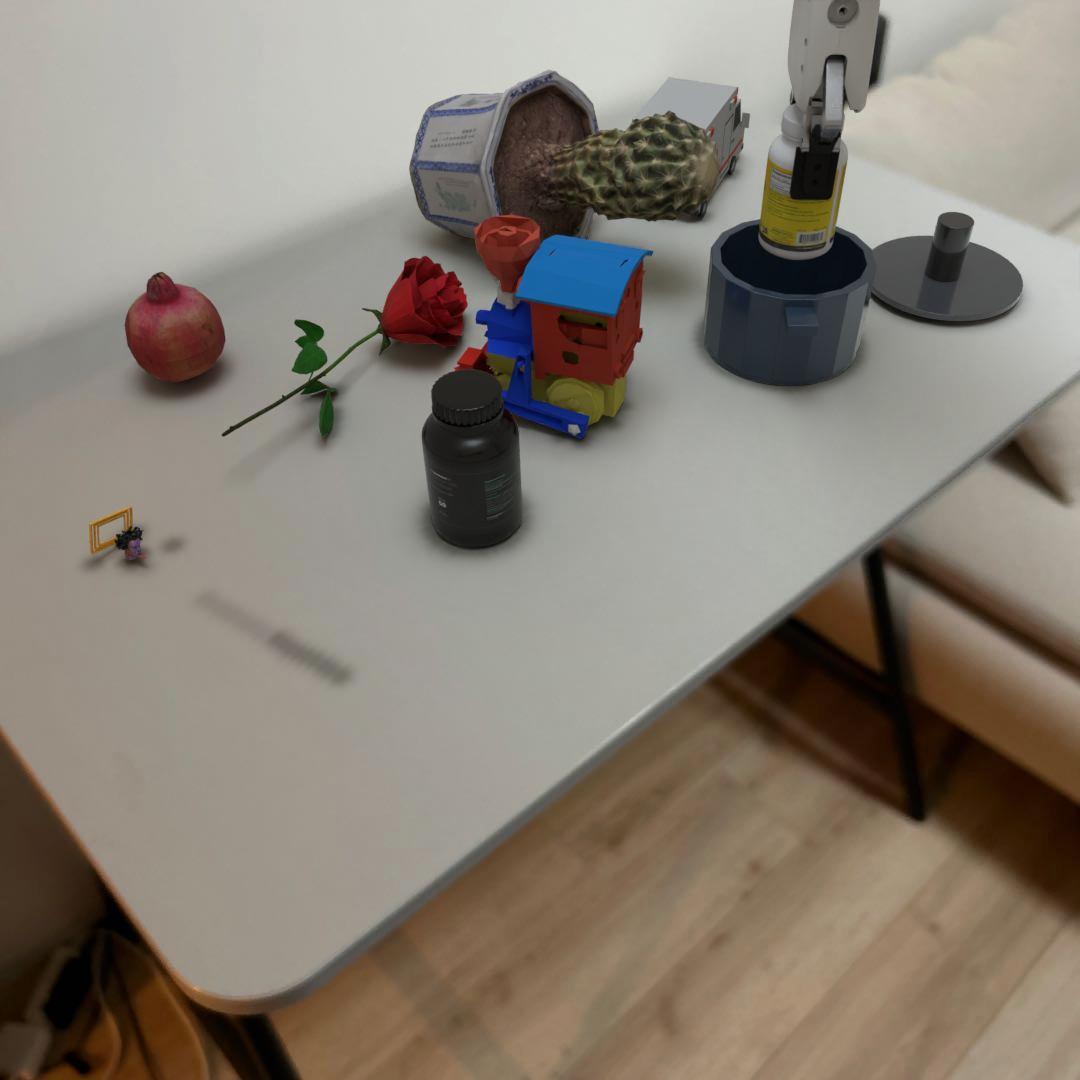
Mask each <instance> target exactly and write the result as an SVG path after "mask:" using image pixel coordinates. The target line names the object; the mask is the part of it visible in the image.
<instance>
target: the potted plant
mask: <svg viewBox="0 0 1080 1080" xmlns="http://www.w3.org/2000/svg"><path fill="white" fill-rule="evenodd" d="M421 117H422V118H421V120H420V123H419V126H418V130H417V132H416V134H415V138H414V139H415V140H414V147H413V150H412V155H411V158H410V162H409V167H408V171H409V177H410V182H411V185H412V187H413V192H414V195H415V200H416V203H417V207H418V209H419V211H420V213H421V214H422V216H423V217H424V218H425V220H426V221H427V222H430V223H431V224H433V225H435V226H437V227H439V228H441V229H443V230H444V231H447V232H448V233H450V234H453V235H455V236H458V237H459V236H460V237H465V238H469V239H473V240H475V233H474V229H475V228H476V227H477V226H478V225H479V224H480V223H481V222H482V221H484V220H486V219H489V218H491V217H494V216H504V215H516V216H520V217H525V218H530V219H532V220H533V221H535V222H536V223H537V224H538V225H539V226H540V245H541V243H542V242H543V240H545V239H547V238H549V237H551V236H553V235H563V236H569V237H575V238H580V239H586V240H587V236H588V234H589V231H590V228H591V225H592V222H593V218H594V214H597V215H598V216H605V217H606V218H605V219H606V220H607V221H613V220H615V221H616V220H624V219H636V220H645V221H647V222H648V223H649V222H656V223H657V221H672V222H674V221H677V220H678V219H679V218H680V216H681V215H683V214H684V213H683V212H684V211H689V212H690V213H695V212H696V211H697V209H698V207H699V206H700V205H701V204H702V203H703V202H705V201H706V200H708V201H709V199H710V198H711V197H712V195H713V193H714V192H713V189H714V188H715V186H716V184H717V183H718V177H719V169H720V162H719V160H718V158H717V146H715V144H716V143H715V142H714V141H709V140H708V138H707V134H706V130H705V129H704V128H700V127H698V126H696V125H694V124H692V123H690V122H688V121H686V120H683V119H680V118H679V117H677V116H676V114H675V113H674V112H671V111H668V112H666V113H665V114H664V115H660V114H656V113H655V114H654V115H653V117H650V116H647V117H644V118H642V119H641V120H639V119H635V120H634V121H633V122H632V121H631V123H630V124H629V126H628V127H627V128H626V129H625V130H622V129H618V128H617V127H615V128H613V129H600V128H599V124H598V119H597V115H596V111H595V106H594V103H593V102H592V100H591V99H590V98H589V97H588V95H586V93H585V92H584V91H583V90H582V89H581V88H580V87H579V86H577V85H576V84H575V83H574V82H573V81H571V80H569V79H568V78H567V77H564V76H562V75H561V74H560V73H558V71H557V70H553V69H546V70H544V71H542V72H540V73H537V74H536V75H533V76H531V77H529V78H527V79H525V80H522V81H518V82H517V83H516V84H514V85H513V86H511V87H509V88H507V89H505V90H504V91H503V92H496V93H464V94H463V93H462V94H456V95H454V96H451V97H448V98H445V99H442V100H440V101H437V102H435V103H433V104H431V105H430V106H428V107H427V109H426V110H425V111H424V113H423V115H422V116H421ZM712 192H713V193H712Z"/></svg>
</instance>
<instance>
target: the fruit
mask: <svg viewBox="0 0 1080 1080" xmlns="http://www.w3.org/2000/svg"><path fill="white" fill-rule="evenodd" d="M124 331H125V332H124V333H125V336H126V344H127V347H128V349H129V351H130V354H132V357H133V359H135V361H136V363H137V364H138V366H139V367H140V368H141V369H143V370H144V371H145V372H146V373H147V374H149V375H150V376H153V377H155V378H157V379H159V380H162V381H165V382H167V383H168V382H169V383H175V382H176V383H177V382H183V381H187V380H190V379H193V378H195V377H197V376H200V375H202V374H204V373H205V372H207V371H208V370H209V369H210V368H211V367H213V365H215V364H216V363H217V361H218V360H219V358H220V357H221V356H222V355H223V351H224V348H225V344H226V341H227V339H226V332H225V327H224V323H223V320H222V317H221V315H220V313H219V310H218V309H217V308H216V306H215V305H214V304H213V302H212V301H211V300H210V299H209V298H208V297H207V296H206V295H205V294H203V292H201V291H200V290H198V289H197V288H195V287H192V286H188V285H185V284H181V283H175V282H174V281H173V279H172V277H170V276H169V275H168V274H166V273H165V272H164V271H159V272H155V273H154V274H152V276H151V277H149V278H148V279H147V282H146V291H145V292H143V293H142V294H140V295H139V296H138V297H137V298H136V299H135V300H134V302H132V304H131V305H130V306H129V308H128V310H127V313H126V316H125V320H124Z"/></svg>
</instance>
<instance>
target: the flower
mask: <svg viewBox="0 0 1080 1080" xmlns="http://www.w3.org/2000/svg"><path fill="white" fill-rule="evenodd" d="M403 263H404V264H403V269H402V272H401V273H400V274H399V275H398V277H397V279H396V280H395V282H394V284H393V285H392V286H391V288H390V290H389V291H388V293H387V296H386V299H385V302H384V305H383V309H382V312H381V310H378V309H372V308H366V307H362V308H361V310H363V311H365V312H368V313H369V312H370V313H372V314H373V315H374V316H375V318H376V319H377V321H378V322H379V323H378V325H377V328H376V330H374V331H372V332H371V333H369V334H367V335H366V336H364V337H362V338H361V339H359V340H357V341H356V342H355V343H354V344H352V345H351V346H350V347H348V349H347V350H346V351H345V352H344V353H342V355H340V356H339V357H338V358H337V359H336V360H335V361H334V362H332V363H331V364H330V365H329V366H327V367H326V368H325V369H324V370H323V371H321V372H320V373H319V374H317V375H316V376H314V377H313V375H314V372H317V371H319V370H321V369H322V368H323V367H325V366H326V364H327V363H328V355H327V353H326V351H325V350H324V349H323V348H322V347H321V346H319V345H318V342H320V341H321V340H322V339H323V338H324V336H325V330H324V329H323V327H322V326H320V325H319V324H317V323H315V322H312V321H310V320H307V319H295V320H294V322H293V324H294V325H295V326H296V327H297V328H299V329H301V330H302V331H303V333H304V334H305V335H301V336H299V337H298V338H297V339H296V340H294V342H295V343H296V345H297V346H298V347H299V348H301V350H300V351H299V352H298V355H297V357H296V358H295V360H294V363H293V366H292V368H291V372H293V373H295V374H299V375H309V374H310V376H309V378H308V380H307V381H306V382H305V383H303V384H301V385H299V386H298V387H297V388H296V389H294V390H292V391H291V392H289V393H287V394H286V395H284V394H282V395H281V398H279V399H278V400H276V401H275V402H273V403H271V404H270V405H268V406H266V407H264V408H262V409H261V410H259V411H257V412H255V413H253V414H252V415H250V416H248V417H246V418H244V419H243V420H241V421H240V422H237V423H236V424H234V425H229V428H228V429H226V430H224V432H222V433H221V437H226V436H228V435H230V434H231V433H234V432H235V431H236V430H238V429H240V428H241V427H243V426H245V425H246V424H248V423H250V422H252V421H254V420H255V419H257V418H258V417H261V416H262V415H264V414H266V413H268V412H269V411H271V410H273V409H275V408H276V407H279V406H280V405H282V404H283V403H285V402H286V401H288V400H289V399H291V398H292V397H294V396H295V395H297V394H298V393H300V396H302V395H310V394H314V393H315V394H316V393H317V392H320V391H324V390H327V392H326V395H325V397H324V399H323V401H322V403H321V406H320V409H319V421H318V428H319V432H320V435H321V437H322V438H324V437H327V435H328V434H329V433H330V432H331V431H332V428H333V425H334V420H335V419H334V418H335V412H334V404H333V403H334V402H333V400H332V397H331V393H334V391H338V390H339V388H337V387H331V386H329V385H327V384H325V383H323V382H322V381H320V379H322V378H323V377H327V374H329V373H330V372H331V371H332V370H333V369H335V368H336V366H338V365H339V364H340V363H341V362H342V361H344V360H345V359H346V358H347V357H348V356H349V355H350V354H351V353H352V352H353V351H354V350H355V349H357V348H358V347H359V346H361V345H363V344H364V343H365V342H367V341H368V340H370V339H372V338H373V337H374V336H376V335H378V334H379V335H382V340H381V345H380V349H379V353H378V356H379V357H380V356H381V355H382V354H383V352H385V351H387V350H388V349H389V348H390V347H391V345H392V341H391V339H392V340H395V341H398V342H403V343H406V344H413V345H428V344H429V345H430V344H435V345H437V346H440V347H441V348H443V349H445V347H446V346H448V347H456V346H457V345H458V344H459V338H458V337H457V336H463V328H464V313H465V311H466V309H467V308H468V301H467V297H468V296H467V294H466V293H465V289H464V287H463V286H462V285H463V283H462V281H460V279H459V277H458V276H457V274H456V272H455V271H454V270H453V271H447V272H445V271H444V269H443V267H442V264H441V263H439V262H436V263H435V262H434V261H433V260H432V258H430V257H429V256H428V255H423V256H421V258H418V257H411V258H409V259H407V260H404V261H403ZM312 377H313V378H312Z"/></svg>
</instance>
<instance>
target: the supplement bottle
mask: <svg viewBox="0 0 1080 1080" xmlns="http://www.w3.org/2000/svg"><path fill="white" fill-rule="evenodd" d="M430 390H431V391H430V394H431V395H430V396H431V397H430V399H431V413H430V414H429V415H428V416H427V418H426V420H425V422H424V424H423V426H422V429H421V446H422V447H421V448H422V454H423V462H424V470H425V479H426V487H427V494H428V501H429V509H430V517H431V520H432V524H433V527H434V528H435V530H436V532H437V533H438V534H439V535H440V536H441V537H442V538H444V539H445V540H447V541H449V542H450V543H453V544H455V545H457V546H462V547H467V548H483V547H488V546H492V545H495V544H498V543H500V542H502V541H504V540H505V539H507V538H509V537H510V536H511V535H513V534H514V532H515V531H516V530H517V528H518V527H519V526H520V523H521V522H522V517H523V491H522V490H523V489H522V488H523V487H522V471H521V470H522V469H521V451H520V450H521V448H520V447H521V444H520V431H519V425H518V422H517V420H516V418H515V417H514V414H513V413H510V412H509V411H508V410H507V409H506V408H505V407H504V400H503V397H502V387H501V384H500V381H499V380H497V378H496V377H494V376H493V374H489V373H488V372H484V371H482V370H477V369H461V370H455V369H454V370H452V371H449V372H447V373H444V374H443V375H442V376H440V377H438V379H437V380H435V381H434V384H432V388H431V389H430Z"/></svg>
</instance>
